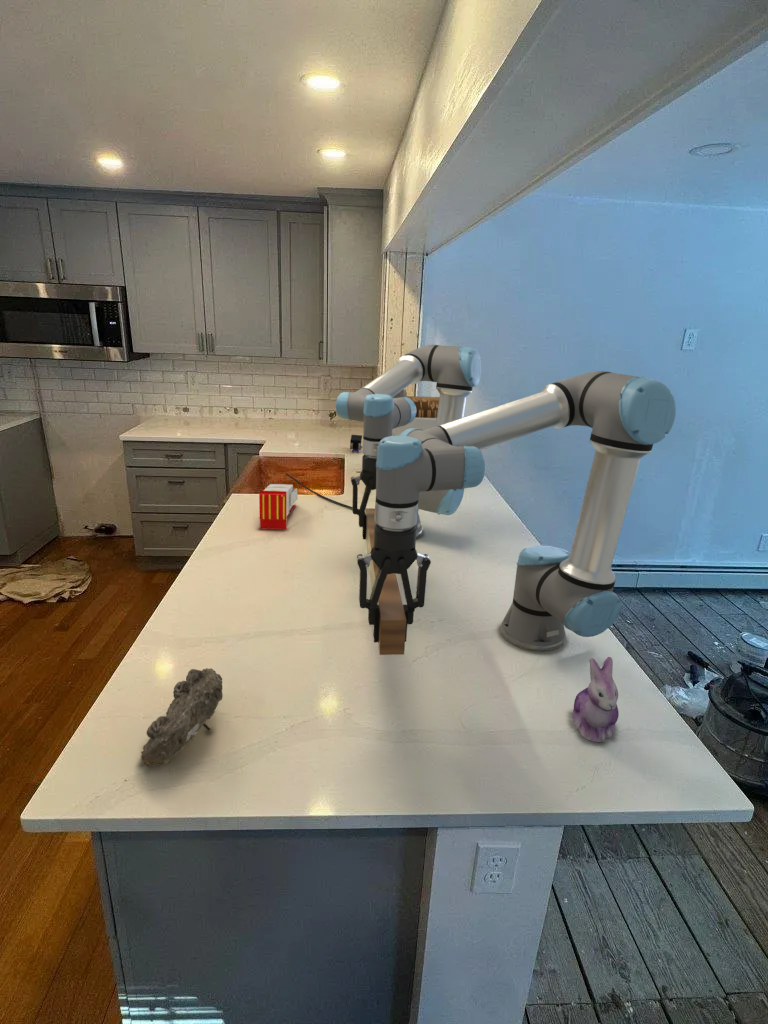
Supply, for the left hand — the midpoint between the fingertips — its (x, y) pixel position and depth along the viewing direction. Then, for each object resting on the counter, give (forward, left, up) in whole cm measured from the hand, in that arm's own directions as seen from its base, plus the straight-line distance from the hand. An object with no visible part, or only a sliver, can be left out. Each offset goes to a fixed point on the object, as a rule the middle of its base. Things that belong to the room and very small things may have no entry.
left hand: (373, 537), depth 156 cm
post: (+21, -15, 0) cm, 25 cm away
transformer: (-78, +94, -15) cm, 123 cm away
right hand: (+41, -30, 0) cm, 51 cm away
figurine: (+71, -2, -15) cm, 72 cm away
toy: (-64, +8, -15) cm, 67 cm away
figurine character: (-130, +96, -15) cm, 163 cm away
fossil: (+24, -63, -15) cm, 69 cm away
